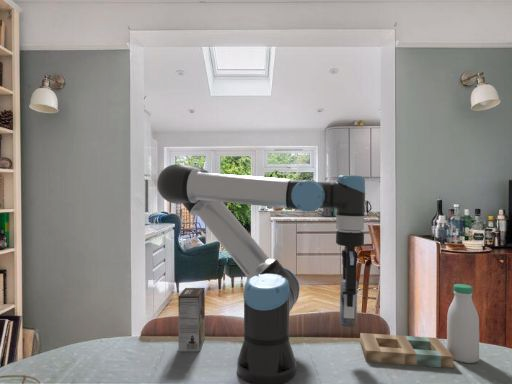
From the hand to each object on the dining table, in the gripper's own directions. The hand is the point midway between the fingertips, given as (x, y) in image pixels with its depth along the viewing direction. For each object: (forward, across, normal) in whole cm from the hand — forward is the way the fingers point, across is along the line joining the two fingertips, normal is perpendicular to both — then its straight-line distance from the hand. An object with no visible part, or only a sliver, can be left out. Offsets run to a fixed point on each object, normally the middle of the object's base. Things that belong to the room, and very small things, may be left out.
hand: (348, 314), depth 98 cm
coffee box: (+13, 0, +45) cm, 47 cm away
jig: (+12, +4, -16) cm, 20 cm away
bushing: (+3, 0, 0) cm, 3 cm away
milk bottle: (+11, +5, -32) cm, 34 cm away
